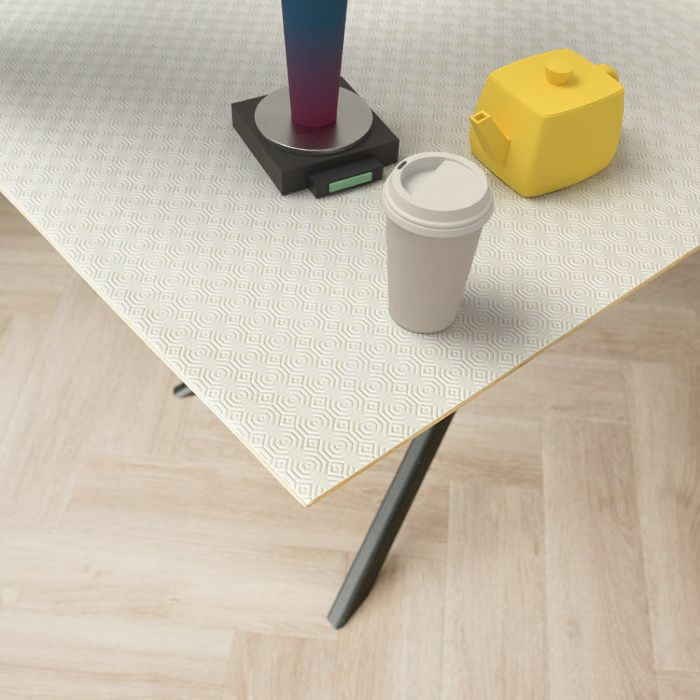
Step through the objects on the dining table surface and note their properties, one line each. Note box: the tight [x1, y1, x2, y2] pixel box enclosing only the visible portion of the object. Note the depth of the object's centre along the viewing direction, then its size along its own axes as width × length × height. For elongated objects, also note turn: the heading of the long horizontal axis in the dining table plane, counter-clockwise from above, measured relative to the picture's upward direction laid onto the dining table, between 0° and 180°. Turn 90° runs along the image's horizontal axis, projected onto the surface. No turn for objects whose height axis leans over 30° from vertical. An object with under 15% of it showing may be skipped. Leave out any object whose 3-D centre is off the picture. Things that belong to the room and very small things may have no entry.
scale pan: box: [254, 85, 373, 156], centre depth 100 cm, size 13×13×1 cm
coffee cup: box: [379, 151, 495, 334], centre depth 80 cm, size 10×10×15 cm
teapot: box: [468, 47, 625, 198], centre depth 98 cm, size 20×12×12 cm, turn 122°
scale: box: [230, 75, 400, 199], centre depth 101 cm, size 16×14×3 cm
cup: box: [280, 0, 349, 128], centre depth 95 cm, size 7×7×15 cm
